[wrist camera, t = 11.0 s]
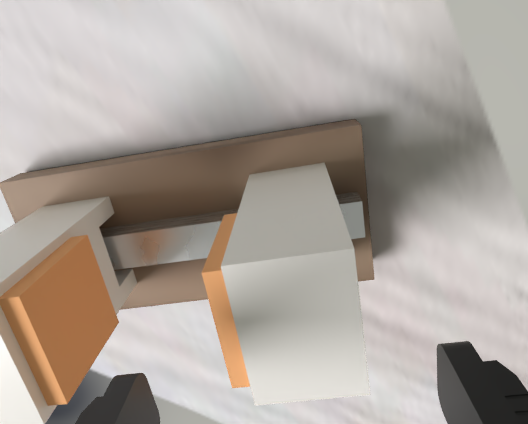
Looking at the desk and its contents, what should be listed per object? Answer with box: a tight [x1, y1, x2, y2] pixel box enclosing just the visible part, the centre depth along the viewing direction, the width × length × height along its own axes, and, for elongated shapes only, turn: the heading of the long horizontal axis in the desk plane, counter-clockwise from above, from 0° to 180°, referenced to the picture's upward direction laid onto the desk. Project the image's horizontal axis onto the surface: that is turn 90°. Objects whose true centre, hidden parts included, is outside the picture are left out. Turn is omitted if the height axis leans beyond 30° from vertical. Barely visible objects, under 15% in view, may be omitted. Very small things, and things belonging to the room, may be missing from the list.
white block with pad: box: [202, 163, 370, 406], centre depth 18 cm, size 6×5×10 cm
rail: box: [0, 119, 374, 424], centre depth 19 cm, size 9×20×12 cm, turn 100°
